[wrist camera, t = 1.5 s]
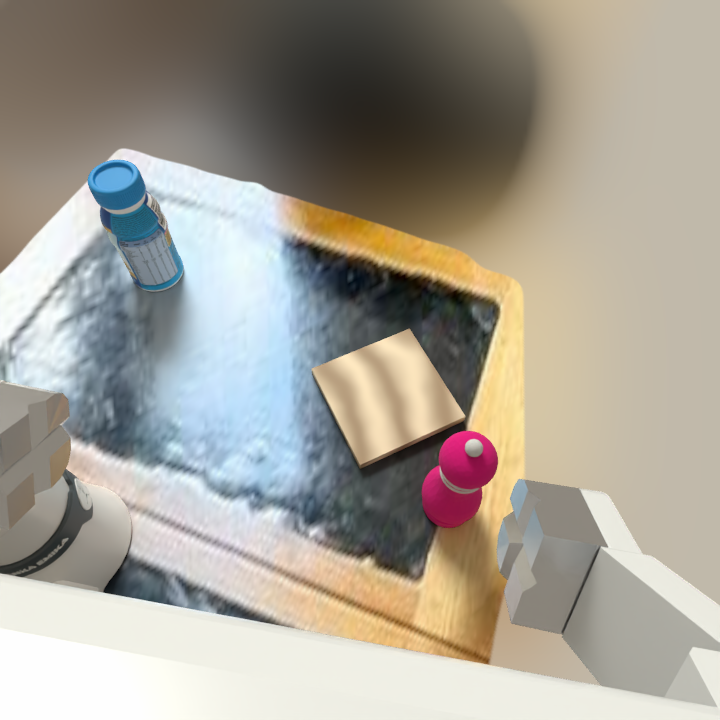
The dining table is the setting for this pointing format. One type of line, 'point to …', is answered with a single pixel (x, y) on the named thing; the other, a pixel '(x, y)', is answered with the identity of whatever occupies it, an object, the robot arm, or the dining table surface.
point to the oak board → (386, 397)
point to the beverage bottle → (135, 225)
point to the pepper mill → (459, 479)
